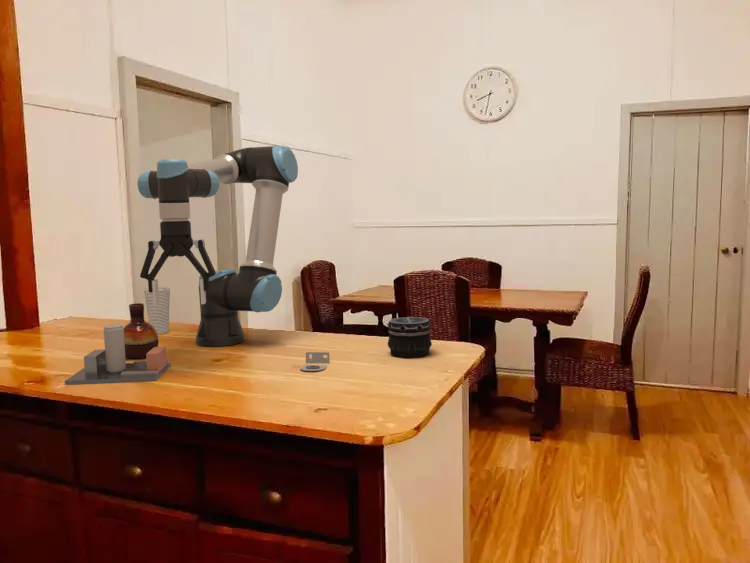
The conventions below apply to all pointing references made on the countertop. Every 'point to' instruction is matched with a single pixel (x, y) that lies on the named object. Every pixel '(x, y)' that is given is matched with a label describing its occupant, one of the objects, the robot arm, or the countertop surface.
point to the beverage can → (114, 348)
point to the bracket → (316, 361)
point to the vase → (139, 334)
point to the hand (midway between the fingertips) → (180, 304)
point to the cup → (158, 310)
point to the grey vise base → (99, 374)
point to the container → (409, 337)
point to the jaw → (156, 358)
